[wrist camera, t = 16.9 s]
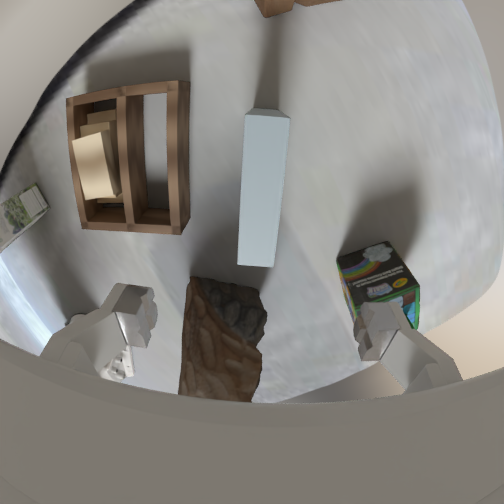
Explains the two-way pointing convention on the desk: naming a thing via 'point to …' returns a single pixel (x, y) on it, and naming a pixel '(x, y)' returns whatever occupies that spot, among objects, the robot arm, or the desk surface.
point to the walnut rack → (137, 159)
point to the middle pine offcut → (112, 128)
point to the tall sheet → (262, 185)
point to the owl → (221, 341)
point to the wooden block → (284, 5)
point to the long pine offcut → (110, 116)
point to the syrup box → (20, 214)
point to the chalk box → (379, 281)
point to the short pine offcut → (96, 165)
